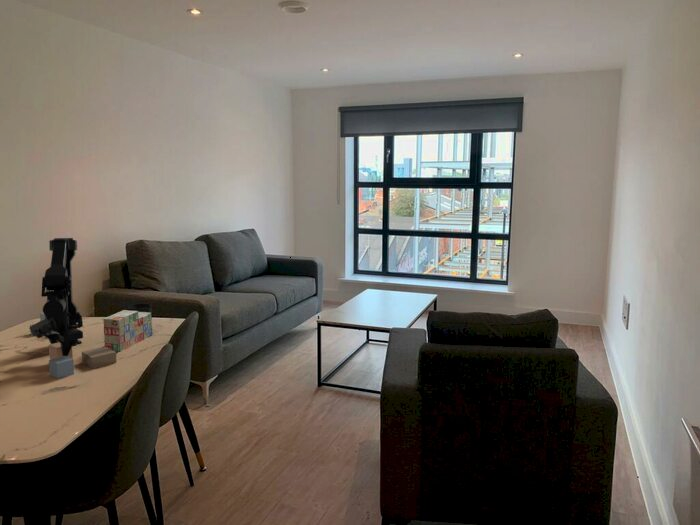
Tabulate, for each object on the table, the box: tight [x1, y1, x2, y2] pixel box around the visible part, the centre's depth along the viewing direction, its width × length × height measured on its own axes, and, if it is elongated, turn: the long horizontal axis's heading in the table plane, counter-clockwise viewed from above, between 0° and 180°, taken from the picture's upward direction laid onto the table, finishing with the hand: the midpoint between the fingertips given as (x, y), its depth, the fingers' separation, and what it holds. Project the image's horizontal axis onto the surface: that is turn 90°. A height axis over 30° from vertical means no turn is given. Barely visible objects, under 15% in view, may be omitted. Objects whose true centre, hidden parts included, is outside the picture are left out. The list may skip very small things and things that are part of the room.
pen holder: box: [126, 302, 152, 314], centre depth 213 cm, size 9×9×10 cm
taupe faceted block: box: [81, 346, 118, 369], centre depth 175 cm, size 8×8×4 cm
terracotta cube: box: [48, 342, 74, 360], centre depth 173 cm, size 5×5×5 cm
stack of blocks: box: [103, 309, 153, 353], centre depth 196 cm, size 21×6×12 cm, turn 170°
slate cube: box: [48, 356, 75, 379], centre depth 164 cm, size 5×5×5 cm
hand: (61, 355), depth 173 cm, fingers closed on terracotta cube, 5 cm apart
